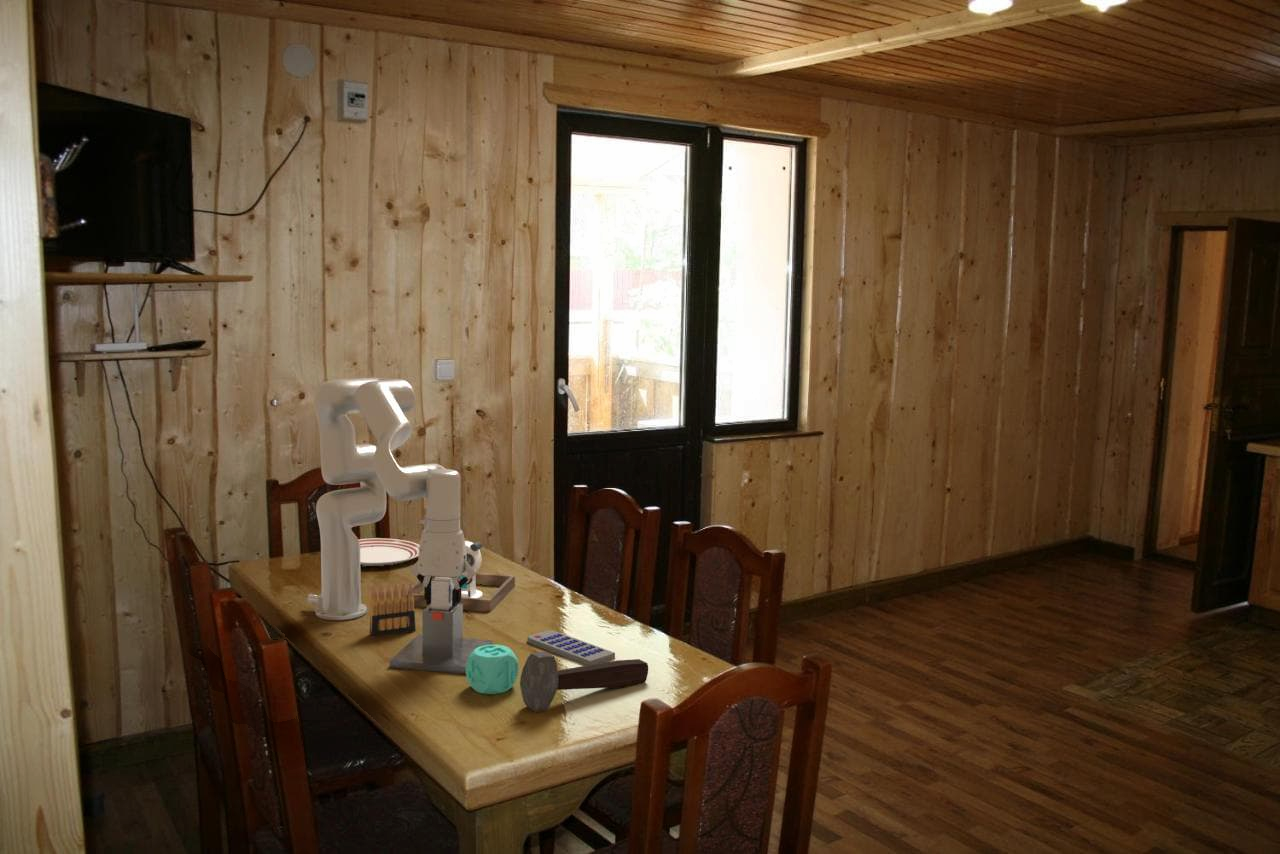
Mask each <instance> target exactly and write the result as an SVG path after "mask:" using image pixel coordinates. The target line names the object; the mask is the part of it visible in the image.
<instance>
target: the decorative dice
mask: <svg viewBox="0 0 1280 854" xmlns="http://www.w3.org/2000/svg"><path fill="white" fill-rule="evenodd" d="M519 668H520V666H519V661H518V658H517V656H516V654H515V652H514V651H513V650H512V649H511V648H510V647H509V646H506V645H503V644H502V645H501V644H493V645H484V646H480V647H478V648H476V649H475V650H474V651H473V652H472V653H471V655H470V656H469V658H468V660H467V664H466V674H465V676H466V679H467V682H468V684H469V686H470V687H471V688H472V689H473V690H474V691H475V692H477V693H480V694H483V695H499V694H503V693H506V692H508V691H509V690H510V689H511V688H512V687H513V686H514V684H515V683H516V681H517V679H518V677H519V676H518V675H519V671H520V669H519Z"/></svg>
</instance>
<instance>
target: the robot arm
mask: <svg viewBox="0 0 1280 854" xmlns="http://www.w3.org/2000/svg"><path fill="white" fill-rule="evenodd" d="M416 403H417V395H416V392H415V390H414V388H413V386H412V385H411V384H410V383H409V382H408V381H406V380H404V379H402V378H401V379H400V378H399V379H398V378H397V379H396V378H387V377H361V378H360V377H358V378H341V379H339V378H338V379H332V380H328V381H324V382H322V383H321V384H320V385H318V386H317V388H316V390H315V391H314V395H313V410H314V414H315V418H316V421H317V425H318V430H319V446H320V447H319V449H320V451H319V453H320V454H319V455H320V470H321V476H322V479H323V481H324V482H325V483H326V484H328V485H332V486H333V485H334V486H335V485H336V486H340V485H349V484H357V483H359V484H360V487H359V486H358V487H352V488H349V487H348V488H344V489H337V490H332V491H329V492H326V493H324V494H323V495H321V496H320V497H319V498H318V499H317V502H316V506H315V510H316V511H315V512H316V517H317V521H318V527H319V536H320V559H321V560H320V562H321V565H320V566H321V568H320V569H321V570H320V572H321V575H320V577H321V578H320V579H321V581H320V582H321V594H319V595H317V594H313V593H312V594H311V593H309V594H308V596H307V604H308V605H316V606H317V607H316V608H315V610H314V612H315V616H316V617H317V618H320V619H323V620H328V621H346V620H353V619H357V618H361V617H362V616H364V615H366V613H368V607H367V605H366V604H364V603H362V599H361V598H362V597H361V595H362V594H361V593H362V591H361V590H362V589H361V588H362V585H361V584H362V583H361V581H362V580H361V575H362V574H361V572H362V571H361V567H362V566H360V543H359V538H358V536H356V534H355V532H353V529H352V528H353V527H357V526H361V525H362V526H363V525H369V524H373V523H377V522H379V521H381V520H382V519H383V518H384V516H385V514H386V512H387V494H388V496H389V497H391V498H392V499H393V500H395V501H400V502H403V501H411V500H416V499H424V498H425V517H424V518H420V520H419V524H420V525H423V526H424V529H423V530H422V531H421V534H420V535H421V536H420V540H419V541H420V542H419V545H420V547H419V556H418V557H417V559H418V560H417V561H416V562H415V563H414V564H413V565H412V566H411V568H410V570H409V571H410V573H412V575H414V577H416V579H417V581H420V582H421V583H422V585H423V587H424V590H423V591H424V593H423V594H424V598H425V600H426V605H429V604H431V581H432V579H433V577H446V578H452V581H453V584H454V589H453V590H452V606H453V607H456V606H457V605H458V604H459V602H461V587H462V586H463V585H464V584H465V583H466V582H467V581H468V580H470V579H471V578H472V577H473V576H475V575H476V573H477V572H475V571H474V569H473V568H472V567H471V566H470V564H469V563H468V562H467V557H466V545H465V541H466V539H465V534H464V531H463V530H462V529H461V474H460V473H459V472H458V471H457V470H455V469H450V468H445V467H444V466H443V465H440V464H439V463H425V464H423V463H422V464H415V465H407V466H400V465H399V464H398V463H397V461H396V459H395V457H394V456H393V453H392V452H393V451H394V450H396V449H397V448H399V447H401V446H402V445H403V444H405V443H406V441H407V440H408V439H410V437H411V435H412V433H413V427H412V424H411V422H410V421H409V419H408V418H407V416H406V414H410V413H411V412H412V411H413V410H414V408H415V406H416ZM359 413H360V414H361V416H362V417H363V419H364V421H365V422H366V424H367V426H368V428H369V429H370V431H371V432H372V434H373V437H374V438H375V439H376V441H377V444H376V445H374V444H371V443H364V444H363V443H361V444H357V443H356V430H355V426H354V424H353V422H352V421H351V419H350V418H349V417H348V415H347V414H359ZM465 571H466V572H467V575H466V576H465V577H463V578H462V577H461V575H462V573H464V572H465Z"/></svg>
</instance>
